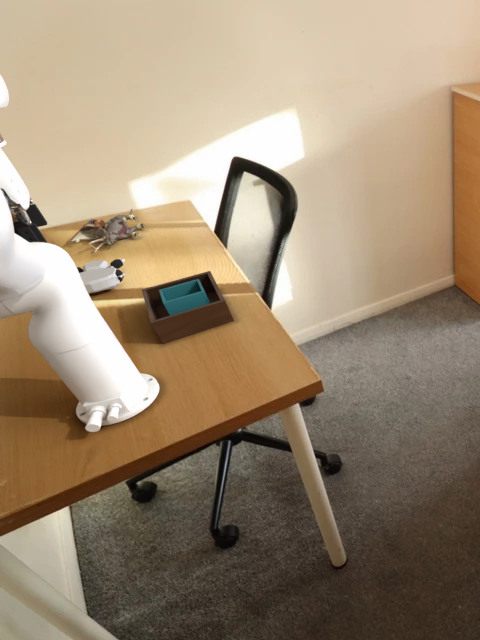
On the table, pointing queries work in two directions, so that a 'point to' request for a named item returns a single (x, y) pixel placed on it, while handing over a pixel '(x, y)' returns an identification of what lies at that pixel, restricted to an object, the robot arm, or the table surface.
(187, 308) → the box
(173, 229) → the table surface
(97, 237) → the figurine
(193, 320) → the crate
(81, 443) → the table surface
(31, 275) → the robot arm
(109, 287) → the robot toy
